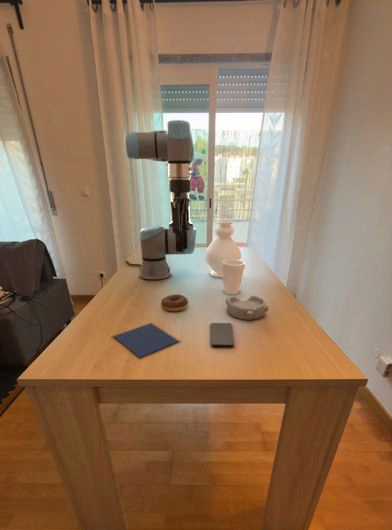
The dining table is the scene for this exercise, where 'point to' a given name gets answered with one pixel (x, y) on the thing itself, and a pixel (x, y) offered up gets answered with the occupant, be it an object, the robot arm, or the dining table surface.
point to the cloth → (145, 340)
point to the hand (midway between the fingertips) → (181, 249)
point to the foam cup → (232, 275)
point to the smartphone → (221, 335)
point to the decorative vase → (222, 248)
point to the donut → (174, 302)
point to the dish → (247, 307)
